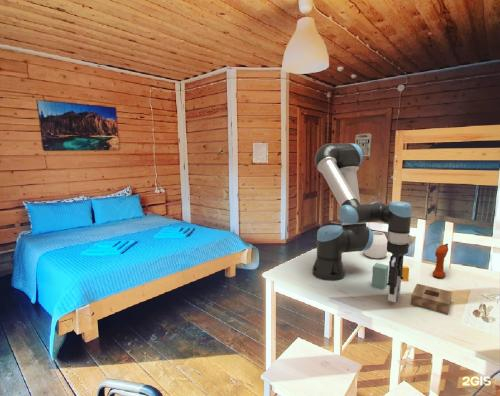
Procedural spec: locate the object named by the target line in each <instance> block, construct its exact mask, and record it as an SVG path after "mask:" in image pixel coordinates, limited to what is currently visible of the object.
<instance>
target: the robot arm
mask: <svg viewBox="0 0 500 396" xmlns="http://www.w3.org/2000/svg"><path fill="white" fill-rule="evenodd" d="M363 159H364V154H363V151H362V148H361V147H360V146H359V145H358V144H356V143H349V142H347V143H346V142H345V143H344V142H343V143H341V142H340V143H331V142H330V143H326V144H323V145H322V146H321V147H319V148H318V149H317V151H316V153H315V157H314V164H315V168H316V169H317V171H318V172H319V173H321V174H322V176H323V177H324V180H325V181H326V183H327V185H328V186H329V188H330V190H331V193H332V194H333V196H334V199H336V202H337V203H338V205H339V209H338V216H339V217H338V218H339V220H340V222H342V224H341V225H338V224H334V225H333V224H329V225H324V226H320V228H318V230H317V232H316V233H317V235H316V259H315V260H314V264H313V266H312V274H313V275H314V277H316V278H318V279H321V280H325V281H339V280H342V279H344V278H345V277H346V270H345V267H344V263H343V260H342V258H343V253H354V252H363V251H364V250H368V249H369V248H370V247H371V245H372V243H373V232H372V231H373V230H372V229H371V228H370V226H367V223H377V222H382V223H384V224H386V225H388V226H387V236H386V238H387V241H388V242H387V251H388V252H389V253H391V255H390V258H389V261H388V265H389V268H388V282H387V286H388V291H387V301H388V302H393V303H396V293H397V286H396V283H397V276H398V275H399V276H400V285H399V296H401V283H402V280H401V279H403V277H401V276H402V275H403V274H402V271H403V266H404V256H405V255H407V254H409V248H410V244H409V242H410V239H411V238H412V235H411V234H410V233H411V232H410V231H411V220H412V205H411V204H410V203H409V202H405V201H391V202H390V203H389V204H387V203H384V202H382V201H373V202H371V203H364V204H363V203H361V197H360V190H359V184H358V183H359V182H358V173H357V172H358V171H359V169H360V165H361V164H362V162H363Z"/></svg>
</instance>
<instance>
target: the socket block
mask: <svg viewBox="0 0 500 396" xmlns="http://www.w3.org/2000/svg"><path fill="white" fill-rule="evenodd" d="M452 293H453V292H452V291H451V290H447V289H446V290H445V289H442V288H438V287H433V286H429V285H424V284H421V283H416V284H415V287H414V289H413V291H412V293H411V297H410V305H411V306H415V307H419V308H423V309H426V310H430V311H433V312H436V313H437V312H438V313H440V314H443V315H444V314H445V315H449V311H450V307H451V303H452Z"/></svg>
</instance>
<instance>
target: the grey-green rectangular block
mask: <svg viewBox="0 0 500 396" xmlns="http://www.w3.org/2000/svg"><path fill="white" fill-rule="evenodd" d="M388 275H389V264H383V263H378V262H375V264H374V265H372V276H371V287H376V288H379V289H383V290H385V289H386V287H387V286H388V285H387V283H388Z"/></svg>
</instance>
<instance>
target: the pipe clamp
mask: <svg viewBox="0 0 500 396" xmlns="http://www.w3.org/2000/svg"><path fill="white" fill-rule="evenodd" d="M402 274H403V275H402V276H401V277H403V279H401V282H408V281H409V278H410V277H409V276H410V275H409V274H410V267H409V266H406V265H405V266H404V265H403V271H402Z"/></svg>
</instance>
